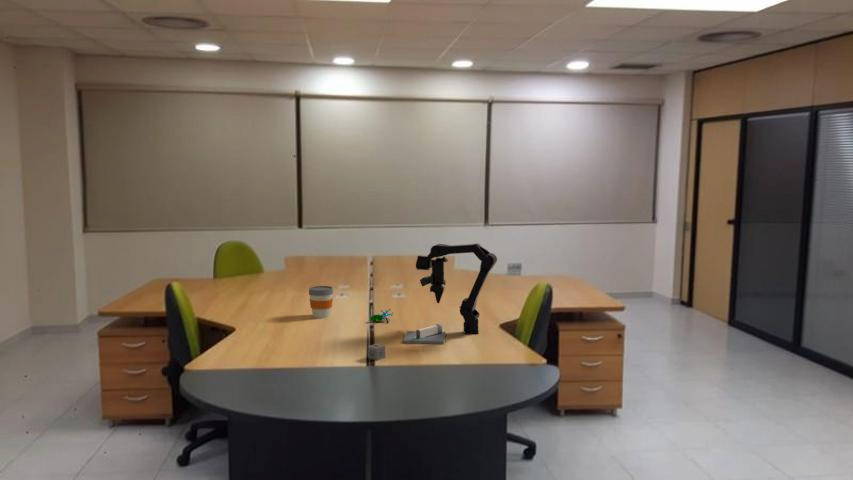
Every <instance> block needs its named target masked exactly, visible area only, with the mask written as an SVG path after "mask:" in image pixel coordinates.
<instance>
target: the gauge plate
mask: <svg viewBox="0 0 853 480" xmlns="http://www.w3.org/2000/svg"><path fill="white" fill-rule="evenodd" d="M446 334H447V333H446V331H442V333H440V334H434V335H430V336H426V337H423V338H419V339H418V338H416V330H415V331H414V330H407V331H406V333H405V336H404V338H403V340H402V343H403V344H425V345H426V344H429V345H430V344H432V345H443V344H444V343H445V340H446Z"/></svg>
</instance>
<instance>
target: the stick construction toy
mask: <svg viewBox="0 0 853 480" xmlns="http://www.w3.org/2000/svg"><path fill="white" fill-rule="evenodd" d="M390 311H391V308H389V309H388V310H387V309H385V312H384V310H383V309H380V312H381V313H382V314H380V313H377V314H373V315H371V316H370V318H369V320H370V321H371V322H377V323H379V322H382V321H385V322H386V324H389V323H390V322H389V321H390V318H389V316H393V315H394V312H392V313H388V312H390Z"/></svg>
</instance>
